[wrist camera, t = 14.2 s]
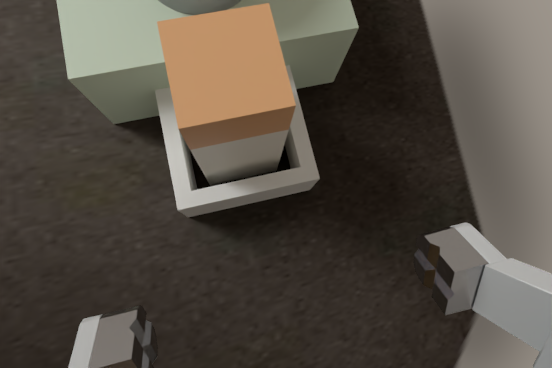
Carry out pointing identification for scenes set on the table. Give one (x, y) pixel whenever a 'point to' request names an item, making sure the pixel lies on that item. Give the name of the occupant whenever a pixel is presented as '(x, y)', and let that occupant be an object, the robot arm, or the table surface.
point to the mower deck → (156, 90)
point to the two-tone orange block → (229, 90)
